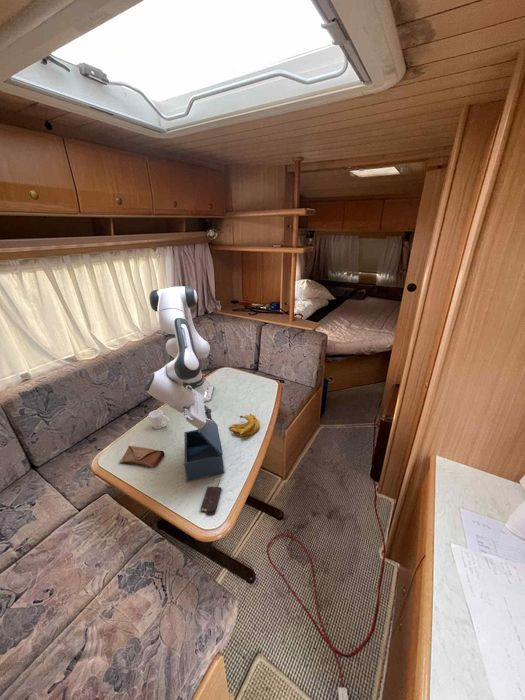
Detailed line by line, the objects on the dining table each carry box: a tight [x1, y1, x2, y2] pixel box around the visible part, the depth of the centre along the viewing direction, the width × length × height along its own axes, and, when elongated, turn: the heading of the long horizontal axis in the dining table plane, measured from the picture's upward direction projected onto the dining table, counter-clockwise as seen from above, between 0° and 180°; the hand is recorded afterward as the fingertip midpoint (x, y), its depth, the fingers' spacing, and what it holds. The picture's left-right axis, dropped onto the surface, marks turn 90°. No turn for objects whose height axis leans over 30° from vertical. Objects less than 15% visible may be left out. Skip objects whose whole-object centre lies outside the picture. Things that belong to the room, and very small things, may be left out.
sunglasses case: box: [119, 445, 165, 469], centre depth 122 cm, size 18×7×7 cm, turn 79°
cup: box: [147, 409, 170, 430], centre depth 141 cm, size 7×10×8 cm
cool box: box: [183, 429, 225, 482], centre depth 120 cm, size 15×20×9 cm
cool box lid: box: [197, 408, 224, 457], centre depth 116 cm, size 16×20×5 cm
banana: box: [229, 413, 261, 437], centre depth 139 cm, size 15×19×6 cm
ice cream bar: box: [200, 476, 222, 515], centre depth 104 cm, size 5×2×15 cm
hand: (211, 416), depth 114 cm, fingers closed on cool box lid, 6 cm apart
